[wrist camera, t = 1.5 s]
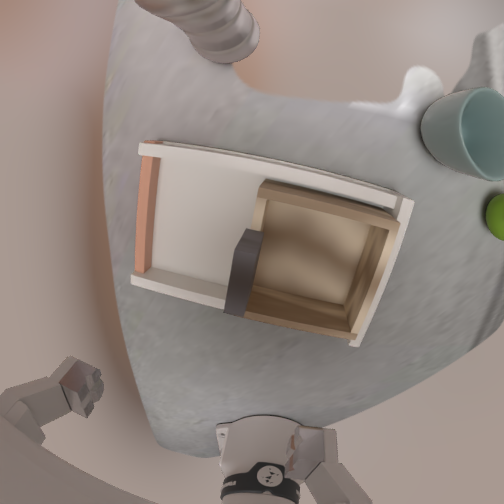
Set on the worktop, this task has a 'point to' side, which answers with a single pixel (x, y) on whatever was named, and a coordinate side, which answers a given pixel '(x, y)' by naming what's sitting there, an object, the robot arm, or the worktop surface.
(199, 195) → the white tray
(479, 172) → the cup
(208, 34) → the plastic bottle
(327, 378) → the worktop surface
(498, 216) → the snail figurine
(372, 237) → the drawer
